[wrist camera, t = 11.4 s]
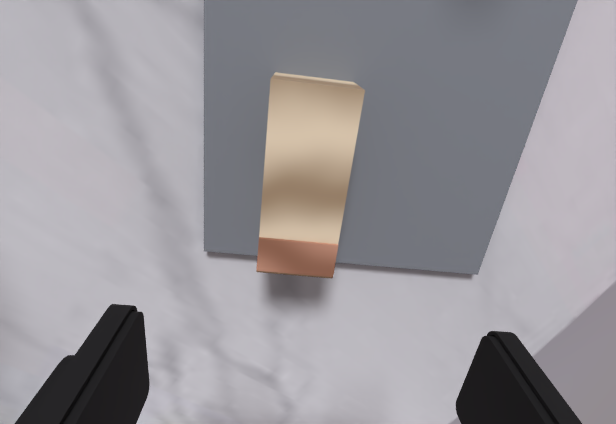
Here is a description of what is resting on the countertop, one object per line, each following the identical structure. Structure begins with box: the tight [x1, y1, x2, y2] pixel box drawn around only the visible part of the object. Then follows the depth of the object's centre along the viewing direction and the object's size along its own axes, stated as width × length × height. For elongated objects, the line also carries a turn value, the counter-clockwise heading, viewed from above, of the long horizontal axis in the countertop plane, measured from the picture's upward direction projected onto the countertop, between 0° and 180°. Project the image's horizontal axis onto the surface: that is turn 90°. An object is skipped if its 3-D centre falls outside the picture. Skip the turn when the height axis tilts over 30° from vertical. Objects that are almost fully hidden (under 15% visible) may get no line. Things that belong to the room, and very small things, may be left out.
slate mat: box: [204, 0, 578, 275], centre depth 26 cm, size 22×20×1 cm
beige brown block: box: [257, 72, 365, 278], centre depth 24 cm, size 12×5×5 cm, turn 173°
